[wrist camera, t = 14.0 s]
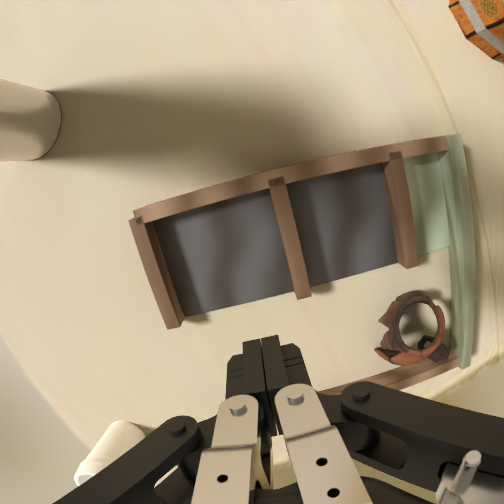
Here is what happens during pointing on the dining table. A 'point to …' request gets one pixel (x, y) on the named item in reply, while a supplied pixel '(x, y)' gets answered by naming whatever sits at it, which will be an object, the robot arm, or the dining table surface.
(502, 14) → the mug
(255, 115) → the dining table surface
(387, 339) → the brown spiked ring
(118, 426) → the foam cup
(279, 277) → the wooden divided tray
